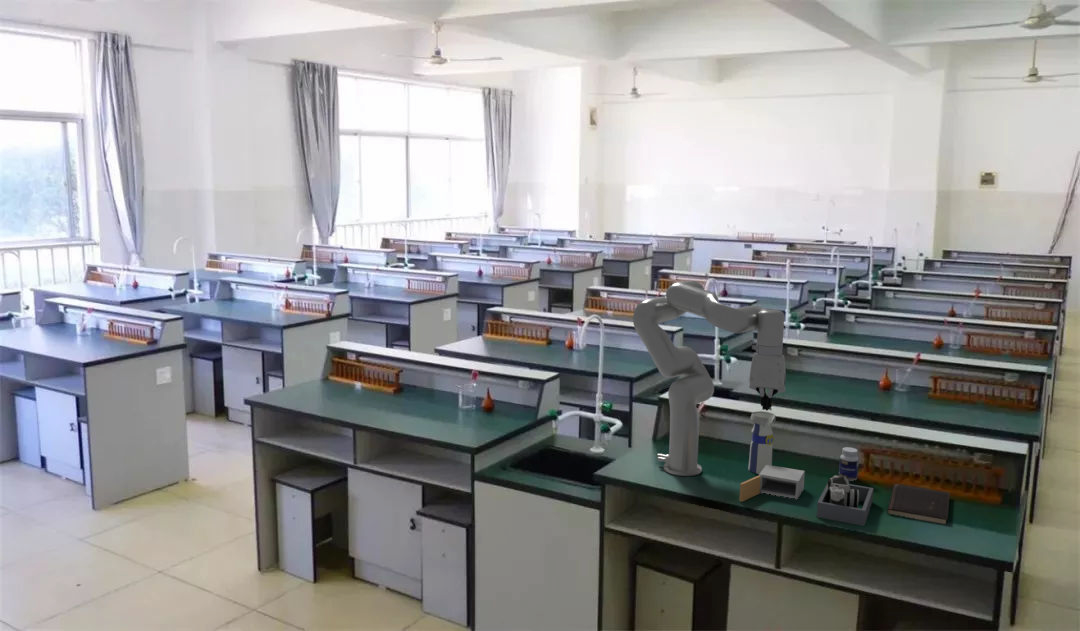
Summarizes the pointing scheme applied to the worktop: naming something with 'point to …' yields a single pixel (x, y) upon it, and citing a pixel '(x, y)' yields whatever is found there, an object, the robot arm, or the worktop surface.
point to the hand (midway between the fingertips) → (766, 408)
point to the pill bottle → (849, 464)
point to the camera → (842, 492)
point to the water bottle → (761, 441)
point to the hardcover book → (919, 503)
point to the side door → (750, 488)
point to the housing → (782, 481)
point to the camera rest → (846, 507)
